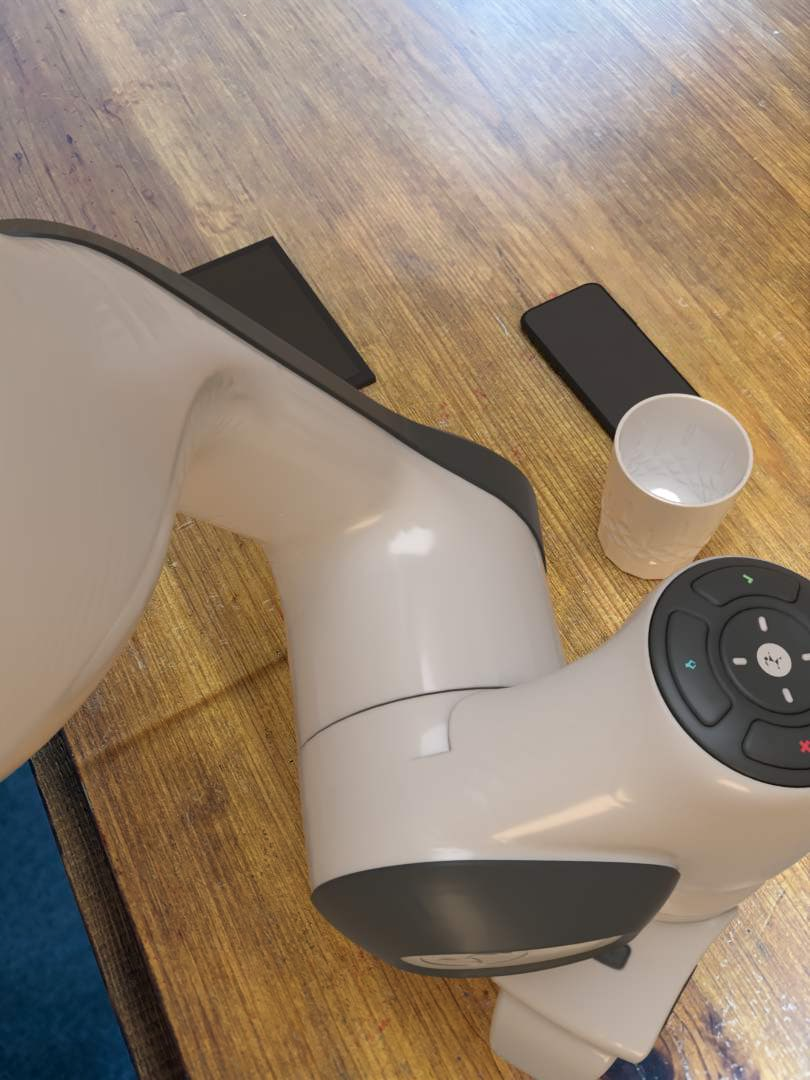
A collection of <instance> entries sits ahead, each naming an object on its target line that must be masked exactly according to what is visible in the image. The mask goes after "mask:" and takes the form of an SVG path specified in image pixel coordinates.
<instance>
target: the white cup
mask: <svg viewBox="0 0 810 1080" xmlns="http://www.w3.org/2000/svg"><path fill="white" fill-rule="evenodd" d="M701 397H702V396H701ZM701 397H697V396H693V395H688V394H662V395H657V396H653V397H650V398H648V399H645V400H643V401H641V402H639V403H638V404H636V405H635V406H633V407H632V408H631V409H630V410H629V411H628V412H627V413H626V414H625V415H624V416H623V418H622V419H621V421H620V423H619V425H618V427H617V430H616V434H615V438H614V439H613V443H612V448H611V452H610V457H609V461H608V465H607V468H606V473H605V474H606V475H605V479H604V483H603V484H604V485H603V490H602V496H601V501H600V508H601V509H600V513H599V516H598V517H599V518H598V526H597V531H596V532H597V534H596V536H597V539H598V542H599V543H600V546H601V548H602V551H603V554H604V556H605V557H607V558H608V559H609V560H610V561H611V562H612V563H613V564H614V565H615V566H616V567H617V568H618V569H619V570H620V571H621V572H624V573H626V574H629V575H632V576H633V577H637V578H639V579H642V580H663V579H665V578H666V577H668V576H669V575H671V574H672V573H674V572H675V571H677V570H678V569H680V568H682V567H684V566H686V565H688V564H690V563H692V562H695V561H696V558H697V557H698V556H699V554H700V553H701V551H702V549H703V548H704V547H706V545H707V544H709V542H710V540H711V538H712V537H713V536H714V534H715V533H716V531H717V529H718V528H719V527H720V525H721V524H722V523H723V521H724V520H725V518H726V516H727V515H728V513H729V512H730V510H731V508H732V506H733V505H734V503H735V501H736V499H737V498H738V496H739V495H740V493H741V491H742V490H743V488H744V486H745V485H746V483H747V482H748V480H749V478H750V476H751V474H752V471H753V468H754V467H753V466H754V450H753V445H752V442H751V438H750V437H749V435H748V432H747V431H746V429H745V428H744V426H743V425H742V424H741V422H740V421H739V420H738V419H737V418H736V417H735V416H734V415H733V414H732V413H731V412H729V410H727V409H725V408H723V407H722V406H721V405H719V404H717V403H715V402H714V401H711V400H709V399H706V398H703V397H702V398H701Z"/></svg>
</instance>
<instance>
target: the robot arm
mask: <svg viewBox="0 0 810 1080" xmlns="http://www.w3.org/2000/svg"><path fill="white" fill-rule="evenodd" d="M177 513H179V514H182V515H185V516H187V517H190V518H193V519H196V520H198V521H201V522H204V523H206V524H209V525H212V526H215V527H218V528H219V529H223V530H225V531H228V532H231V533H234V534H237V535H240V536H242V537H245V538H247V539H250V540H253V541H255V542H257V544H258V545H259V547H260V548H261V550H262V551H263V553H264V555H265V558H266V561H267V562H268V564H269V567H270V570H271V574H272V577H273V579H274V583H275V586H276V591H277V594H278V598H279V603H280V608H281V612H282V617H283V625H284V631H285V642H286V651H287V652H286V653H287V662H288V672H289V682H290V692H291V702H292V712H293V714H292V715H293V723H294V732H295V742H296V743H295V744H296V753H297V757H296V764H297V765H296V766H297V769H296V770H297V777H298V786H299V787H298V789H299V799H300V800H299V801H300V810H301V811H300V812H301V821H302V830H303V838H304V846H305V847H304V848H305V856H306V865H307V872H308V873H307V874H308V879H309V886H310V887H309V888H310V893H311V894H310V898H309V899H310V902H311V904H312V905H313V907H314V908H315V910H317V913H319V914H320V916H321V917H322V918H323V919H324V920H325V921H326V922H327V923H328V924H329V925H330V926H331V927H333V929H335V930H336V931H337V932H338V933H339V934H341V935H342V936H343V937H345V938H346V939H347V940H348V941H350V942H351V943H353V944H354V945H356V946H357V947H359V948H361V949H362V950H364V951H365V952H368V953H369V954H370V955H372V956H373V957H376V958H377V959H379V960H381V961H382V962H385V963H386V964H388V965H390V966H392V967H393V968H396V969H398V970H400V971H402V972H407V973H410V974H415V975H420V976H425V977H432V978H433V977H434V978H444V979H483V978H484V979H485V978H490V979H491V981H492V982H493V983H494V984H496V985H497V986H498V987H500V988H499V991H498V994H497V997H496V1000H495V1004H494V1007H493V1011H492V1015H491V1022H490V1027H489V1035H488V1042H489V1046H490V1049H491V1051H492V1052H493V1053H494V1054H496V1055H497V1056H498V1057H500V1058H501V1059H503V1060H504V1061H505V1062H507V1063H508V1064H510V1065H512V1067H515V1068H516V1069H518V1070H520V1071H521V1072H522V1073H524V1074H526V1075H527V1076H529V1077H531V1078H533V1079H534V1080H598V1079H599V1078H600V1077H602V1076H603V1075H604V1074H605V1073H606V1072H608V1071H609V1069H610V1068H611V1067H612V1065H613V1064H614V1063H615V1061H617V1059H620V1060H624V1061H626V1062H628V1063H631V1064H635V1065H636V1064H637V1065H638V1064H639V1063H641V1062H643V1061H644V1060H645V1059H646V1058H647V1057H648V1056H649V1055H650V1053H651V1051H652V1050H653V1048H654V1046H655V1044H656V1041H657V1039H658V1037H659V1036H660V1035H661V1034H662V1032H663V1031H664V1029H665V1028H666V1025H667V1024H668V1022H669V1020H670V1017H671V1015H672V1014H673V1012H674V1010H675V1007H676V1006H677V1004H678V1001H679V1000H680V998H681V996H682V994H683V993H684V991H685V989H686V988H687V986H688V984H689V982H690V980H691V978H692V977H693V975H694V973H695V971H696V970H697V967H698V964H699V962H700V961H701V960H702V958H703V957H704V955H705V954H706V953H707V952H708V950H709V949H710V947H711V946H712V945H713V944H714V943H715V941H716V940H717V939H718V938H719V937H720V936H721V934H722V933H723V932H724V931H725V930H726V929H727V927H728V926H729V925H730V924H732V922H733V921H734V920H735V918H736V917H737V916H738V915H739V911H740V910H739V907H738V906H739V905H741V903H743V902H745V901H746V900H747V899H748V898H750V897H751V896H753V895H754V894H755V893H756V892H758V890H759V889H761V888H762V887H763V886H764V885H765V883H766V882H767V881H769V880H771V879H773V878H776V877H778V876H779V875H780V874H782V873H784V872H785V871H786V870H788V869H790V868H791V867H793V866H794V865H795V864H797V863H798V862H799V861H800V860H802V859H803V858H804V857H806V856H807V855H808V854H809V853H810V579H809V578H808V577H805V576H804V575H802V574H801V573H798V572H797V571H795V570H793V569H791V568H789V567H786V566H785V565H782V564H780V563H777V562H774V561H771V560H768V559H764V558H760V557H755V556H750V555H743V554H742V555H741V554H740V555H739V554H724V555H723V554H722V555H721V554H720V555H715V556H709V557H705V558H701V559H698V560H694V561H693V562H692V563H690V564H688V565H686V566H684V567H682V568H680V569H678V570H677V571H675V572H674V573H672V574H671V575H669V576H668V577H666V578H665V579H661V581H660V582H658V584H657V585H655V587H653V588H652V589H651V590H650V591H649V592H647V594H646V595H645V596H644V597H643V598H642V599H641V601H639V603H638V604H637V605H636V606H635V607H634V609H632V610H631V612H630V613H629V615H628V616H627V617H626V618H625V620H624V621H623V623H622V624H621V626H620V627H619V628H618V629H617V631H615V632H614V633H613V634H612V635H611V636H610V637H608V638H607V639H606V640H605V641H603V642H602V643H601V644H600V645H598V646H597V647H595V648H593V650H591V651H589V652H588V653H586V654H584V655H583V656H581V657H579V658H577V659H576V660H574V661H571V662H570V663H569V664H568V660H567V657H566V656H567V655H566V652H565V647H564V644H563V639H562V636H561V631H560V627H559V624H558V618H557V614H556V611H555V606H554V603H553V602H554V601H553V599H552V593H551V590H550V585H549V582H548V577H547V572H548V571H547V560H546V552H545V546H544V540H543V533H542V527H541V519H540V513H539V505H538V499H537V496H536V492H535V490H534V488H533V485H532V484H531V482H530V481H529V479H528V477H527V476H526V475H525V473H524V472H523V471H521V469H520V468H519V467H517V466H516V464H514V463H513V462H511V461H510V460H508V459H507V458H505V457H504V456H502V455H501V454H499V453H497V452H495V450H492V449H490V448H489V447H487V446H485V445H483V444H480V443H478V442H477V441H474V440H472V439H469V438H467V437H464V436H462V435H459V434H456V433H453V432H450V431H446V430H443V429H440V428H437V427H433V426H430V425H427V424H424V423H423V424H422V423H420V422H417V421H415V420H413V419H410V418H407V417H405V416H404V415H402V414H399V413H397V412H395V411H393V410H392V409H390V408H388V407H386V406H384V405H382V404H381V403H379V402H377V401H376V400H375V399H373V398H371V397H370V396H368V395H367V394H365V393H363V392H362V391H361V390H360V389H359V390H358V389H356V388H354V387H353V386H351V385H350V384H348V383H347V382H345V381H344V380H342V379H341V378H339V377H338V376H336V375H335V374H333V373H332V372H330V371H329V370H327V369H326V368H324V367H323V366H321V365H320V364H318V363H317V362H315V361H314V360H312V359H311V358H309V357H308V356H306V355H305V354H303V353H302V352H300V351H299V350H297V349H296V348H294V347H293V346H291V345H289V344H288V343H286V342H285V341H283V340H282V339H280V338H279V337H277V336H276V335H274V334H273V333H271V332H270V331H268V330H267V329H265V328H264V327H262V326H261V325H259V324H258V323H256V322H255V321H253V320H252V319H250V318H249V317H247V316H246V315H244V314H242V313H241V312H239V311H238V310H236V309H235V308H233V307H232V306H230V305H228V304H227V303H225V302H224V301H222V300H221V299H219V298H218V297H216V296H214V295H213V294H211V293H210V292H208V291H206V290H205V289H203V288H202V287H200V286H198V285H197V284H195V283H193V282H192V281H190V280H188V279H187V278H185V277H183V276H182V275H180V273H179V272H177V271H175V270H173V269H172V268H169V267H168V266H167V265H165V264H163V263H161V262H159V261H157V260H155V259H154V258H151V257H150V256H147V255H146V254H144V253H142V252H140V251H138V250H136V249H133V248H132V247H129V246H127V245H125V244H124V243H122V242H120V241H116V240H114V239H111V238H110V237H107V236H105V235H102V234H100V233H96V232H95V231H91V230H88V229H85V228H81V227H78V226H75V225H72V224H71V225H70V224H67V223H63V222H59V221H52V220H48V219H47V220H46V219H37V218H21V217H20V218H19V217H18V218H17V217H16V218H1V219H0V783H2V782H3V781H4V780H5V779H7V778H9V776H11V775H12V774H13V773H15V772H16V771H17V770H19V768H21V767H22V766H23V765H24V764H25V763H26V762H27V761H29V760H30V759H31V758H32V757H33V756H34V755H35V754H36V753H37V752H39V751H40V750H41V749H42V748H43V747H44V746H45V745H46V744H47V743H48V742H49V741H50V740H51V739H52V738H53V737H54V736H55V735H56V734H57V733H58V732H60V730H61V729H62V728H63V727H64V726H66V724H67V723H68V721H70V719H71V718H72V717H73V716H74V715H75V714H76V713H77V712H78V711H79V709H80V708H81V707H83V705H84V703H85V702H86V701H87V700H88V699H89V698H90V697H91V695H92V694H93V692H95V690H96V689H97V687H98V686H99V685H100V683H102V681H103V679H105V677H106V676H107V674H108V673H109V671H110V670H111V669H112V667H113V665H115V663H116V662H117V660H118V658H120V656H121V654H122V653H123V651H124V649H125V648H126V646H127V644H128V643H129V641H130V640H131V638H132V636H133V635H134V633H135V631H136V630H137V628H138V626H139V625H140V622H141V620H142V618H143V616H144V615H145V613H146V611H147V609H148V606H149V605H150V603H151V601H152V599H153V596H154V593H155V591H156V589H157V586H158V584H159V581H160V579H161V576H162V573H163V569H164V566H165V563H166V559H167V556H168V553H169V550H170V545H171V541H172V535H173V531H174V527H175V521H176V517H177Z"/></svg>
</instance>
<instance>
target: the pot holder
mask: <svg viewBox="0 0 810 1080" xmlns="http://www.w3.org/2000/svg"><path fill="white" fill-rule="evenodd" d="M179 274H180V275H182V276H183V277H185V278H187V279H188V280H190V281H192V282H193V283H195V284H197V285H198V286H200V287H202V288H203V289H205V290H206V291H208V292H210V293H211V294H213V295H214V296H216V297H218V298H219V299H221V300H222V301H224V302H225V303H227V304H228V305H230V306H232V307H233V308H235V309H236V310H238V311H239V312H241V313H242V314H244V315H246V316H247V317H249V318H250V319H252V320H253V321H255V322H256V323H258V324H259V325H261V326H262V327H264V328H265V329H267V330H268V331H270V332H271V333H273V334H274V335H276V336H277V337H279V338H280V339H282V340H283V341H285V342H286V343H288V344H289V345H291V346H293V347H294V348H296V349H297V350H299V351H300V352H302V353H303V354H305V355H306V356H308V357H309V358H311V359H312V360H314V361H315V362H317V363H318V364H320V365H321V366H323V367H324V368H326V369H327V370H329V371H330V372H332V373H333V374H335V375H336V376H338V377H339V378H341V379H342V380H344V381H345V382H347V383H348V384H350V385H351V386H353V387H354V388H356V389H358V390H359V391H360V390H361V389H363V388H365V387H368V386H369V385H372V384H374V383H375V382H377V376H376V375H375V373H374V371H373V370H372V369H371V367H370V366H369V365H368V363H367V362H366V361H365V359H364V358H363V356H362V355H361V354H360V352H359V351H358V350H357V348H356V347H355V346H354V344H353V343H352V342H351V341H350V338H348V336H347V335H346V333H345V332H344V330H343V329H342V328H341V327H340V325H339V323H338V322H337V321H336V319H335V318H334V317H333V316H332V314H331V313H330V311H329V310H328V309H327V307H326V306H325V305H324V303H323V302H322V301H321V299H320V298H319V297H318V295H317V293H315V290H313V288H312V287H311V285H310V284H309V283H308V281H307V280H306V279H305V277H304V276H303V275H302V273H301V272H300V271H299V269H298V268H297V266H296V265H295V264H294V262H293V261H292V259H291V258H290V257H289V255H288V254H287V253H286V251H285V250H284V248H283V247H282V246H281V244H280V243H279V242H278V240H277V239H276V237H274V235H271V236H269V237H266V238H263V239H261V240H259V241H255V242H253V243H251V244H249V245H247V246H244V247H242V248H239V249H236V250H234V251H232V252H229V253H226V254H224V255H222V256H219V257H217V258H215V259H212V260H210V261H207V262H204V263H202V264H200V265H198V266H195V267H193V268H190V269H188V270H185V271H183V272H180V273H179Z"/></svg>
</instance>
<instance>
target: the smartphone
mask: <svg viewBox="0 0 810 1080" xmlns="http://www.w3.org/2000/svg"><path fill="white" fill-rule="evenodd" d="M519 323H520V327H521V328H522V330H523V331H524V332H525V334H526V335H527V336H528V339H529V340H530V341H531V342H532V343H533V344H534V345H535V346H536V347H537V349H538V351H539V352H540V353H541V354H542V356H543V357H544V358H545V359H547V362H548V363H549V364H550V365H551V366H552V368H553V369H554V370H555V371H556V372H558V374H559V375H560V376H561V377H562V378H563V380H564V381H565V382H566V383H567V385H568V386H569V387H570V388H571V390H572V391H573V392H574V393H575V394H576V395H577V397H578V398H579V399H580V400H581V401H582V402H583V404H584V405H585V406H586V407H587V409H588V410H589V411H590V412H591V413H592V414H593V416H594V417H595V418H596V420H597V421H598V422H599V423H600V424H601V426H602V427H603V428H604V429H605V430H606V431H607V433H608V434H609V436H611V438H612V439H613V440H614V438H615V434H616V430H617V427H618V425H619V423H620V421H621V419H622V418H623V416H624V415H625V414H626V413H627V412H628V411H629V410H630V409H631V408H632V407H633V406H635V405H636V404H638V403H639V402H641V401H643V400H645V399H648V398H650V397H653V396H657V395H662V394H688V395H693V396H697V397H701V398H703V397H702V396H701V395H700V394H699V392H697V390H696V389H695V388H694V387H693V386H692V384H691V383H689V381H688V380H687V379H686V378H685V377H684V375H683V374H682V373H681V372H680V371H679V370H678V369H677V367H675V366H674V364H673V363H672V362H671V361H670V359H668V358H667V356H665V354H664V353H663V352H662V351H661V350H660V349H659V347H658V346H657V345H656V344H655V343H654V342H653V341H652V339H650V337H649V336H648V335H647V334H646V333H645V332H644V331H643V330H642V328H640V326H639V325H638V323H637V322H636V320H635V319H634V318H633V317H632V316H631V315H630V314H629V313H628V312H627V310H626V309H625V308H623V307H622V306H621V305H620V304H619V302H618V301H617V300H616V299H615V298H614V297H613V296H612V294H610V293H609V292H608V290H607V289H606V288H605V287H604V286H603V285H601V284H600V283H598V282H587V283H586V282H585V283H583V284H581V285H578V286H577V287H574V288H572V289H569V290H568V291H566V292H563V293H562V294H559V295H557V296H555V297H553V298H550V299H548V300H546V301H544V302H542V303H539V304H537V305H535V306H533V307H531V308H529V309H527V310H525V312H523V313H522V314H521V316H520V319H519Z"/></svg>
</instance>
